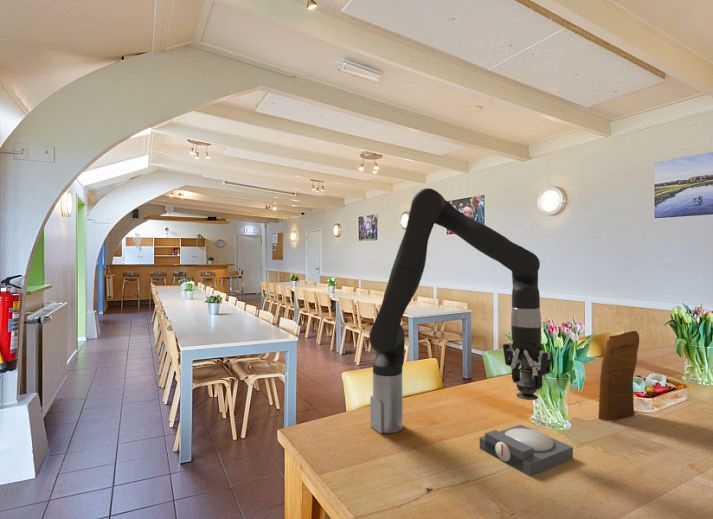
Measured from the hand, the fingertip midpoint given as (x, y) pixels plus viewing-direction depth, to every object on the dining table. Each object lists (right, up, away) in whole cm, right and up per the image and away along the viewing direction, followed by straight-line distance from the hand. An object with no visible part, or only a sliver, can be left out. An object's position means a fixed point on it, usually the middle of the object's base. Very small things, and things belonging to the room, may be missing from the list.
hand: (526, 385), depth 107 cm
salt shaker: (0, -3, 0) cm, 3 cm away
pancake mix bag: (+40, -18, +22) cm, 49 cm away
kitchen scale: (-1, -18, -2) cm, 18 cm away
